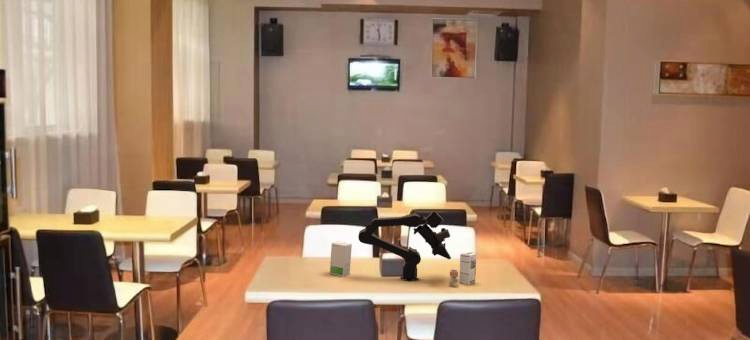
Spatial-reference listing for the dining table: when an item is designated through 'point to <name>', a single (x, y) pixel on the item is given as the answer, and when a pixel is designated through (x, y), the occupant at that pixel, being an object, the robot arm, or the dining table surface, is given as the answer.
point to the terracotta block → (454, 273)
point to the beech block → (453, 281)
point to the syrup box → (467, 268)
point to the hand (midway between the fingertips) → (450, 258)
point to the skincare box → (340, 258)
